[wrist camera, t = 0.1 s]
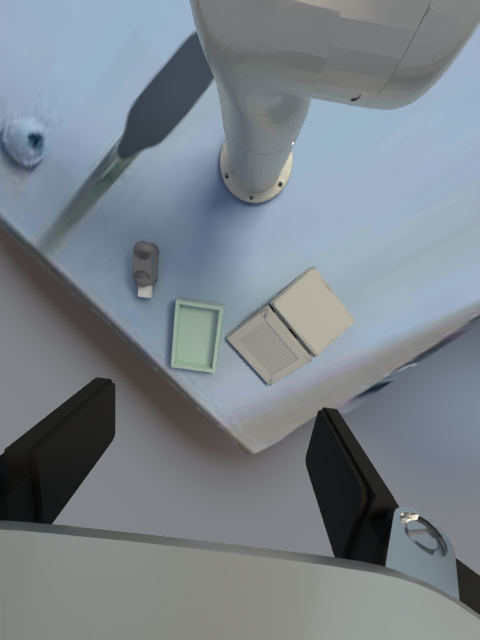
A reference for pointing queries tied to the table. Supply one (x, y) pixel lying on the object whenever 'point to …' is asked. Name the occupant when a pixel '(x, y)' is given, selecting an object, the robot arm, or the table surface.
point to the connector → (145, 267)
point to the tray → (196, 335)
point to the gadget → (292, 327)
